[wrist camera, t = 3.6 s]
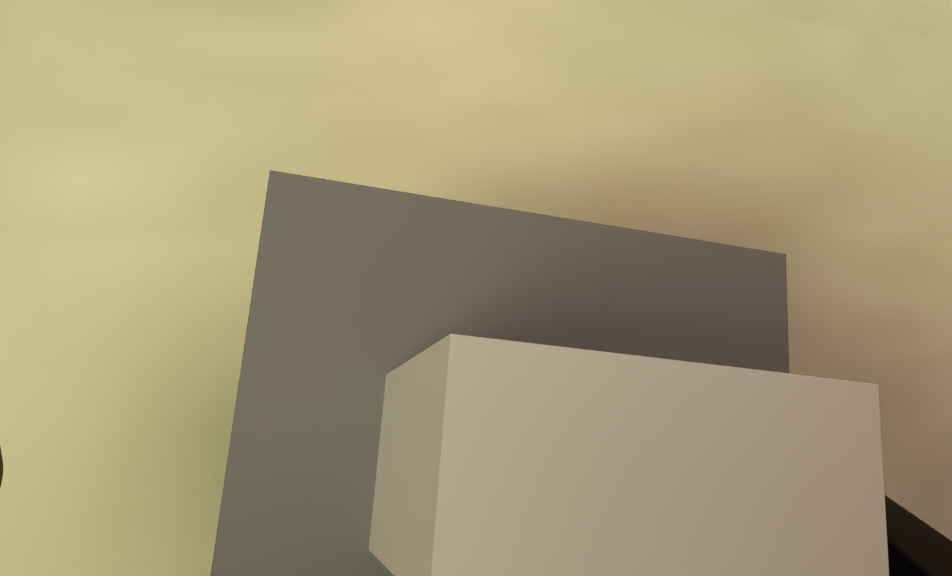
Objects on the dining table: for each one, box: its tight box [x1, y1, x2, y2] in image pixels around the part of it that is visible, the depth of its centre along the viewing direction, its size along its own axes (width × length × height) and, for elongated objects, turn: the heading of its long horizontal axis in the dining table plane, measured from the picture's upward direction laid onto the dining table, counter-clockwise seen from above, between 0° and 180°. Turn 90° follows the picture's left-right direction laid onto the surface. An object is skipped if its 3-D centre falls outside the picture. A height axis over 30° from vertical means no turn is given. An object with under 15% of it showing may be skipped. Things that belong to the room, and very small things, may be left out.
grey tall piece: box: [211, 170, 889, 576], centre depth 10 cm, size 4×4×13 cm
